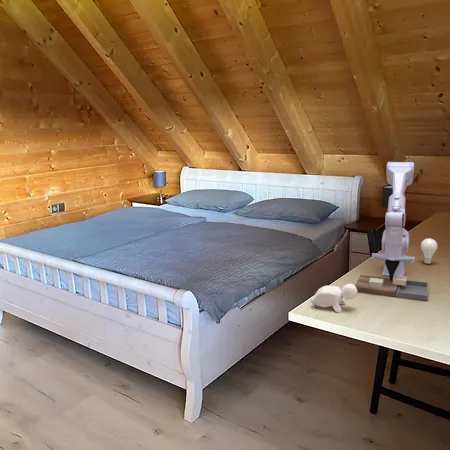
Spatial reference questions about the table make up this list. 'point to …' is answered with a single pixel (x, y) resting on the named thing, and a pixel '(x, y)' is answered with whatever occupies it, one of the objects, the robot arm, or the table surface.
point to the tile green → (376, 282)
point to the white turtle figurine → (334, 296)
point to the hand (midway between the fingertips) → (391, 279)
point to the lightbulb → (428, 249)
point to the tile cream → (399, 280)
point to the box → (413, 290)
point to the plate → (386, 290)
